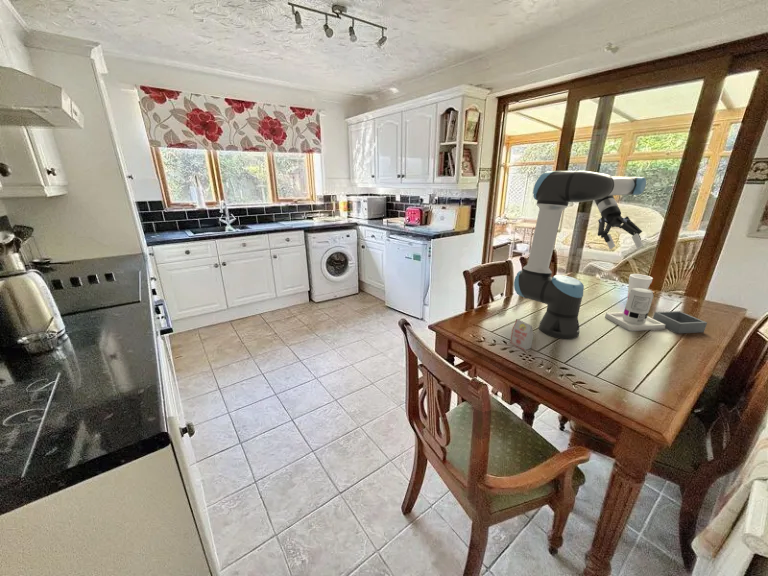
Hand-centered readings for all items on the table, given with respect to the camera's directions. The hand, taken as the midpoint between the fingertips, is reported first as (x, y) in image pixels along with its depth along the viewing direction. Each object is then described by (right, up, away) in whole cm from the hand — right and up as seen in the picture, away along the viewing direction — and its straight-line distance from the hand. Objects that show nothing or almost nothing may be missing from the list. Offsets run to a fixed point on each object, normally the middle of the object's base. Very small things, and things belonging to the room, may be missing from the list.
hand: (626, 247), depth 143 cm
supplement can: (+1, -34, -2) cm, 34 cm away
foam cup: (+23, -25, +24) cm, 42 cm away
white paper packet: (-57, -41, -20) cm, 73 cm away
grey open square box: (+18, -36, -6) cm, 40 cm away
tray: (+1, -34, -2) cm, 35 cm away
